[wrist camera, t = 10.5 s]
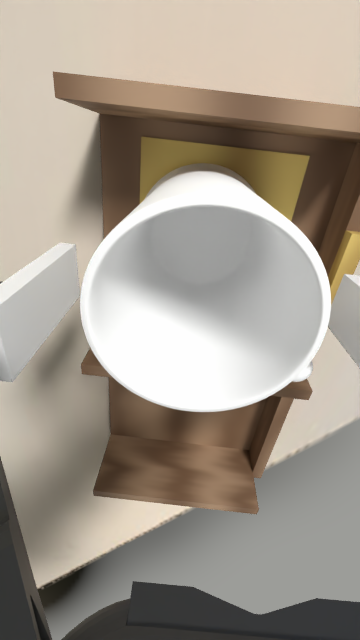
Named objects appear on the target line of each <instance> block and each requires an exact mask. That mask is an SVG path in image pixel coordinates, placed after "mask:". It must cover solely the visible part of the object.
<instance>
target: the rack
mask: <svg viewBox="0 0 360 640" xmlns="http://www.w3.org/2000/svg"><path fill="white" fill-rule="evenodd" d="M53 78H54V89H55V97H56V98H58V99H61V100H64V101H67V102H69V103H72V104H75V105H78V106H80V107H83V108H86V109H89V110H91V111H94V112H97V113H100V140H101V168H102V197H103V226H104V239H105V237H106V236H107V235H108V234H109V233H110V232H111V231H112V230H113V229H114V228H115V227H116V226H117V225H118V224H119V223H120V222H121V221H122V220H123V219H124V218H125V217H126V216H128V215H129V214H130V213H131V212H132V211H133V210H134V209H135V208H136V207H137V206H138V205H139V204H140V203H142V202H143V201H144V199H145V197H146V196H147V194H148V192H149V191H150V190H151V188H152V187H153V186H154V185H155V184H156V183H157V182H158V181H159V180H160V179H161V178H162V177H164V176H165V175H166V174H168V173H169V172H171V171H173V170H175V169H177V168H180V167H182V166H186V165H190V164H197V163H209V164H215V165H219V166H223V167H225V168H228V169H230V170H232V171H234V172H235V173H237V174H238V175H240V176H241V177H242V178H244V179H245V180H246V181H247V182H248V183H249V184H250V186H251V187H252V188H253V190H254V191H255V193H256V194H257V195H258V196H259V197H260V198H262V199H263V200H264V201H266V202H267V203H268V204H269V205H271V206H272V207H273V208H274V209H276V210H277V211H278V212H280V213H281V214H282V215H283V216H285V217H286V218H287V219H288V220H290V221H291V222H292V223H293V224H294V225H295V226H296V227H297V228H299V229H300V230H301V232H302V233H303V234H304V235H305V236H306V237H307V238H308V240H309V241H310V242H311V243H312V245H313V246H314V248H315V249H316V251H317V253H318V255H319V256H320V258H321V260H322V263H323V265H324V267H325V270H326V273H327V276H328V280H329V285H330V293H331V305H332V302H333V300H334V297H335V295H336V293H337V290H338V288H339V285H340V283H341V280H342V278H343V275H344V274H349V275H353V274H354V271H355V269H356V267H357V264H358V262H359V260H360V107H354V106H345V105H337V104H328V103H319V102H311V101H302V100H293V99H285V98H276V97H268V96H259V95H250V94H242V93H233V92H224V91H216V90H207V89H198V88H190V87H181V86H172V85H164V84H155V83H146V82H138V81H129V80H121V79H112V78H103V77H95V76H86V75H77V74H69V73H60V72H53ZM81 369H82V374H86V375H95V376H104V377H109V399H110V428H111V435H110V438H109V441H108V445H107V448H106V451H105V454H104V458H103V461H102V464H101V467H100V470H99V474H98V477H97V480H96V483H95V486H94V490H93V494H94V496H102V497H110V498H119V499H128V500H137V501H145V502H154V503H163V504H172V505H180V506H189V507H198V508H207V509H215V510H224V511H233V512H242V513H250V514H257V512H258V510H259V508H258V502H257V496H256V490H255V484H254V477H255V478H261V476H262V474H263V471H264V469H265V467H266V464H267V462H268V459H269V457H270V455H271V452H272V450H273V447H274V445H275V442H276V440H277V438H278V435H279V433H280V430H281V428H282V426H283V423H284V421H285V418H286V416H287V414H288V411H289V409H290V406H291V404H292V402H293V399H294V398H295V399H304V400H309V398H310V396H311V394H312V389H311V387H310V385H309V382H308V380H307V379H305V380H303V381H300V382H290V383H289V384H288V385H287V386H285V387H284V388H282V389H281V390H279V391H278V392H276V393H275V394H273V395H271V396H269V397H267V398H265V399H263V400H261V401H258V402H256V403H253V404H250V405H247V406H244V407H240V408H236V409H231V410H226V411H217V412H191V411H183V410H177V409H172V408H168V407H165V406H161V405H158V404H156V403H153V402H150V401H148V400H146V399H144V398H142V397H140V396H138V395H136V394H134V393H133V392H131V391H130V390H128V389H127V388H125V387H124V386H122V385H121V384H120V383H119V382H117V381H116V380H115V379H114V378H113V377H112V376H111V375H110V374H109V373H108V372H107V371H106V370H105V369H104V367H103V366H102V365H101V364H100V362H99V361H98V359H97V358H96V356H95V355H94V353H93V351H92V350H91V348H90V349H89V351H88V353H87V355H86V356H85V358H84V360H83V362H82V364H81Z"/></svg>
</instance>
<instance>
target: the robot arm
mask: <svg viewBox="0 0 360 640" xmlns="http://www.w3.org/2000/svg"><path fill="white" fill-rule="evenodd" d="M79 296H80V290H79V278H78V266H77V254H76V244H67V243H59V244H57V245H56V246H54V247H53V248H51V249H50V250H48V251H47V252H46V253H44V254H43V255H41V256H40V257H38V258H37V259H35V260H34V261H33V262H31V263H30V264H28V265H27V266H25V267H24V268H22V269H21V270H19V271H18V272H17V273H15V274H14V275H12V276H11V277H9V278H8V279H6V280H5V281H4V282H0V381H6V382H13V381H14V380H15V378H16V377H17V376H18V375H19V373H20V372H21V371H22V370H23V368H24V367H25V366H26V364H27V363H28V362H29V361H30V359H31V358H32V357H33V355H34V354H35V353H36V352H37V350H38V349H39V348H40V346H41V345H42V344H43V343H44V341H45V340H46V339H47V337H48V336H49V335H50V334H51V332H52V331H53V330H54V329H55V327H56V326H57V325H58V323H59V322H60V321H61V320H62V318H63V317H64V316H65V314H66V313H67V312H68V311H69V309H70V308H71V307H72V305H73V304H74V303H75V302H76V300H77V299H78V298H79ZM328 328H329V329H330V330H331V331H332V333H333V334H334V335H335V337H336V338H337V339H338V341H339V342H340V343H341V345H342V346H343V347H344V349H345V350H346V351H347V353H348V354H349V355H350V356H351V358H352V359H353V360H354V362H355V363H356V364H357V366H358V367H359V368H360V276H359V275H349V274H344V275H343V278H342V280H341V283H340V285H339V288H338V290H337V293H336V295H335V297H334V300H333V302H332V305H331V311H330V318H329V323H328ZM0 640H52V638H51V634H50V630H49V627H48V623H47V620H46V616H45V613H44V610H43V607H42V603H41V601H40V597H39V594H38V591H37V587H36V584H35V580H34V577H33V573H32V570H31V566H30V562H29V559H28V555H27V551H26V548H25V544H24V541H23V537H22V533H21V530H20V526H19V523H18V519H17V515H16V512H15V508H14V504H13V501H12V497H11V494H10V490H9V486H8V483H7V479H6V476H5V472H4V468H3V465H2V461H1V457H0ZM62 640H360V602H350V601H339V600H328V599H318V598H316V599H313V600H310V601H306V602H303V603H299V604H296V605H293V606H289V607H286V608H283V609H279V610H276V611H273V612H269V613H266V614H262V615H258V614H253V613H251V612H248V611H246V610H243V609H241V608H239V607H237V606H234V605H232V604H230V603H228V602H226V601H223V600H221V599H219V598H216V597H214V596H212V595H210V594H208V593H205V592H203V591H201V590H199V589H196V588H194V587H188V586H187V587H186V586H177V585H166V584H156V583H145V582H134V581H133V585H132V591H131V598H130V599H127V600H123V601H120V602H116V603H114V604H112V605H109V606H107V607H105V608H103V609H101V610H99V611H97V612H96V613H94V614H93V615H91V616H89V617H88V618H86V619H85V620H84V621H82V622H81V623H80V624H79V625H77V626H76V627H75V628H74V629H72V630H71V631H70V632H69V633H68V634H67V635H66V636H65V637H64V638H63V639H62Z"/></svg>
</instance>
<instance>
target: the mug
mask: <svg viewBox="0 0 360 640" xmlns="http://www.w3.org/2000/svg"><path fill="white" fill-rule="evenodd" d="M330 311H331V293H330V285H329V280H328V276H327V273H326V270H325V267H324V265H323V263H322V260H321V258H320V256H319V255H318V253H317V251H316V249H315V248H314V246H313V245H312V243H311V242H310V241H309V240H308V238H307V237H306V236H305V235H304V234H303V233H302V232H301V230H300V229H299V228H297V227H296V226H295V225H294V224H293V223H292V222H291V221H290V220H288V219H287V218H286V217H285V216H283V215H282V214H281V213H280V212H278V211H277V210H276V209H274V208H273V207H272V206H271V205H269V204H268V203H267V202H266V201H264V200H263V199H262V198H260V197H259V196H258V195H257V194H256V193H255V191H254V190H253V188H252V187H251V186H250V184H249V183H248V182H247V181H246V180H245V179H244V178H242V177H241V176H240V175H238V174H237V173H235V172H234V171H232V170H230V169H228V168H225V167H223V166H219V165H215V164H209V163H197V164H190V165H186V166H182V167H180V168H177V169H175V170H173V171H171V172H169V173H168V174H166V175H165V176H164V177H162V178H161V179H160V180H159V181H158V182H157V183H156V184H155V185H154V186H153V187H152V188H151V190H150V191H149V192H148V194H147V196H146V197H145V199H144V201H143V202H142V203H140V204H139V205H138V206H137V207H136V208H135V209H134V210H133V211H132V212H131V213H130V214H129V215H128V216H126V217H125V218H124V219H123V220H122V221H121V222H120V223H119V224H118V225H117V226H116V227H115V228H114V229H113V230H112V231H111V232H110V233H109V234H108V235H107V236H106V237H105V239H104V240H103V241H102V242H101V244H100V245H99V247H98V248H97V250H96V251H95V253H94V255H93V256H92V258H91V260H90V262H89V264H88V267H87V269H86V272H85V275H84V278H83V282H82V287H81V294H80V314H81V321H82V326H83V329H84V333H85V336H86V339H87V341H88V343H89V346H90V348H91V350H92V351H93V353H94V355H95V356H96V358H97V359H98V361H99V362H100V364H101V365H102V366H103V367H104V369H105V370H106V371H107V372H108V373H109V374H110V375H111V376H112V377H113V378H114V379H115V380H116V381H117V382H119V383H120V384H121V385H122V386H124V387H125V388H127V389H128V390H130V391H131V392H133V393H134V394H136V395H138V396H140V397H142V398H144V399H146V400H148V401H150V402H153V403H156V404H158V405H161V406H165V407H168V408H172V409H177V410H183V411H191V412H217V411H226V410H231V409H236V408H240V407H244V406H247V405H250V404H253V403H256V402H258V401H261V400H263V399H265V398H267V397H269V396H271V395H273V394H275V393H276V392H278V391H279V390H281V389H282V388H284V387H285V386H287V385H288V384H289V383H290V382H300V381H303V380H305V379H307V378H308V377H309V376H310V375H311V373H312V370H313V364H312V359H313V358H314V356H315V354H316V353H317V351H318V349H319V348H320V346H321V343H322V341H323V339H324V336H325V334H326V331H327V327H328V323H329V318H330Z"/></svg>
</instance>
